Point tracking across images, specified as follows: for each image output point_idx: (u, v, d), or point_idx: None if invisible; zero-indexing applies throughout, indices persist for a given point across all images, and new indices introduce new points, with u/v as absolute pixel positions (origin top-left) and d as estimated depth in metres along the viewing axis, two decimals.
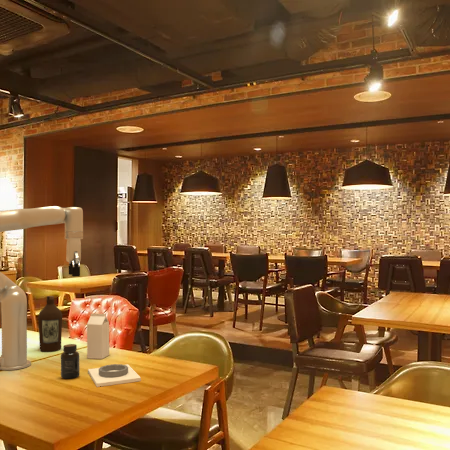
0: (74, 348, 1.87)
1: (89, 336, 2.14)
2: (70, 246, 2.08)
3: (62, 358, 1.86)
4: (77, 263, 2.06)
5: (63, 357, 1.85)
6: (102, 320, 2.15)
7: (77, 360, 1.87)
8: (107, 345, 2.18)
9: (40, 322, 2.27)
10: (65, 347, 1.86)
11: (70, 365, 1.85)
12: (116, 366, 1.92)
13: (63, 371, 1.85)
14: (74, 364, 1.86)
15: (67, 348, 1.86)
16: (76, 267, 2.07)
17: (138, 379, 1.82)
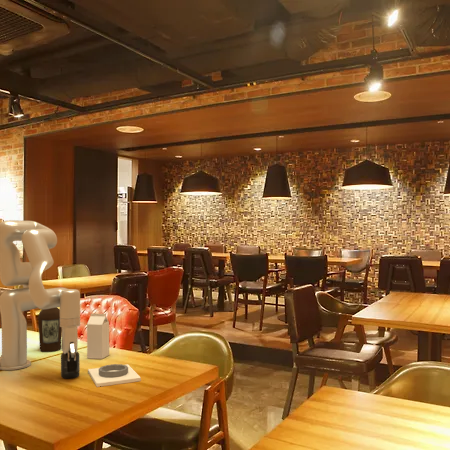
0: None
1: (89, 336, 2.14)
2: (65, 336, 1.83)
3: (62, 358, 1.86)
4: (73, 357, 1.83)
5: (63, 357, 1.85)
6: (102, 320, 2.15)
7: (77, 360, 1.87)
8: (107, 345, 2.18)
9: (40, 322, 2.27)
10: None
11: None
12: (116, 366, 1.92)
13: (63, 371, 1.85)
14: None
15: None
16: (72, 361, 1.84)
17: (138, 379, 1.82)
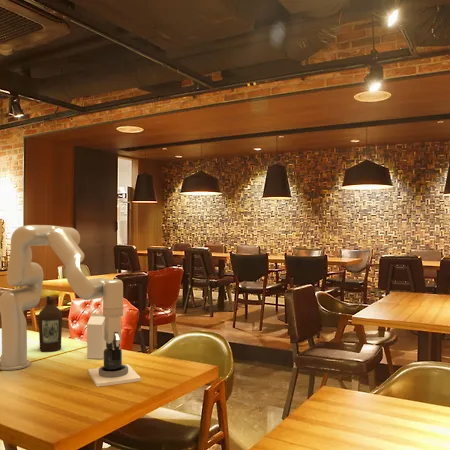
0: None
1: (89, 336, 2.14)
2: (110, 326, 1.83)
3: (105, 354, 1.86)
4: (118, 346, 1.82)
5: (106, 353, 1.86)
6: (102, 320, 2.15)
7: (120, 356, 1.87)
8: None
9: (40, 322, 2.27)
10: None
11: (113, 361, 1.85)
12: None
13: (106, 367, 1.86)
14: (117, 360, 1.86)
15: (110, 344, 1.86)
16: (116, 350, 1.83)
17: (138, 379, 1.82)
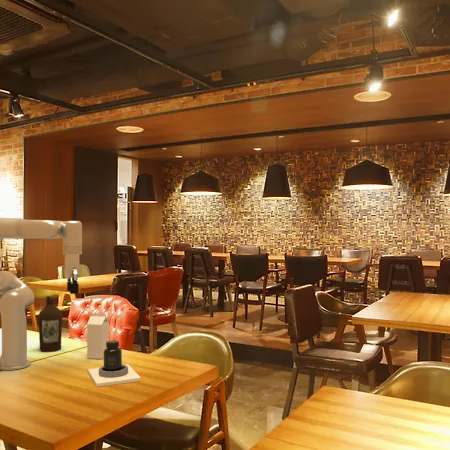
0: (117, 344, 1.88)
1: (89, 336, 2.14)
2: (68, 262, 1.98)
3: (105, 354, 1.86)
4: (75, 280, 1.97)
5: (106, 353, 1.86)
6: (102, 320, 2.15)
7: (120, 356, 1.87)
8: None
9: (40, 322, 2.27)
10: (108, 343, 1.87)
11: (113, 361, 1.85)
12: None
13: (106, 367, 1.86)
14: (117, 360, 1.86)
15: (110, 344, 1.86)
16: (74, 284, 1.98)
17: (138, 379, 1.82)
